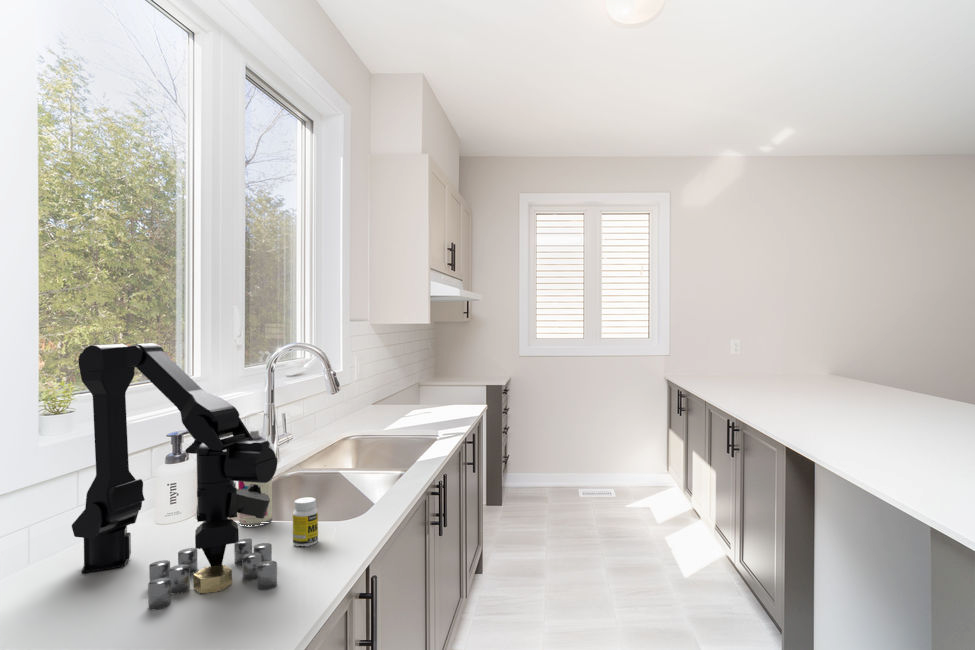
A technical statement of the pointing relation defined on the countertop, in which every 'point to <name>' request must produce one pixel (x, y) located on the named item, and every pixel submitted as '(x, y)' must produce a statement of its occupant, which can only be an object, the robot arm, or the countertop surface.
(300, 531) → the supplement bottle
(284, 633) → the countertop surface
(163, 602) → the spacers
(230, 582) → the wooden star-faceted hexagon
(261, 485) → the aerosol can
